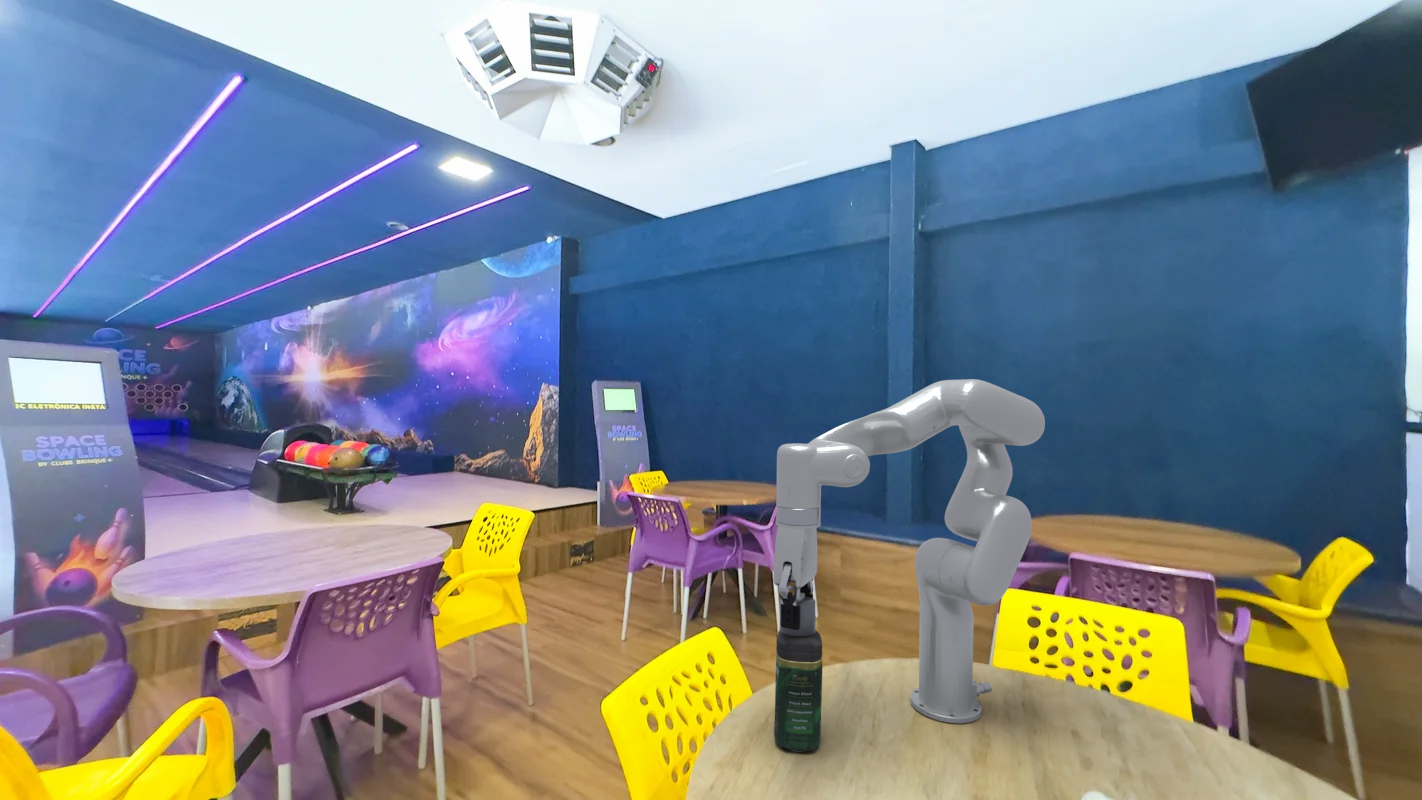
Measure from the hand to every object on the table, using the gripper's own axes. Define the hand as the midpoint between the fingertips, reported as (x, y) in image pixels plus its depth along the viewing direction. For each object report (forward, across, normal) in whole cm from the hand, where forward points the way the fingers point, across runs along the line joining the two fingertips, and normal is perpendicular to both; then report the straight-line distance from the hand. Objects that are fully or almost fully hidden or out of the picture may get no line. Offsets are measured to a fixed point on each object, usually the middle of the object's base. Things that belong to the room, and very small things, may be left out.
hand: (797, 620), depth 104 cm
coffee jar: (+20, 0, 0) cm, 20 cm away
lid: (+1, 0, 0) cm, 1 cm away
